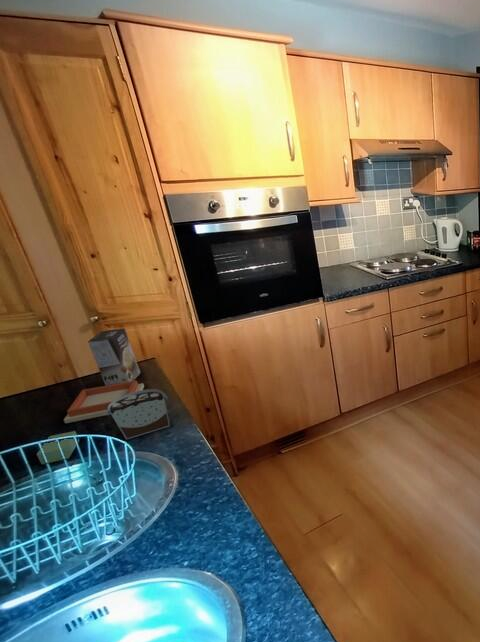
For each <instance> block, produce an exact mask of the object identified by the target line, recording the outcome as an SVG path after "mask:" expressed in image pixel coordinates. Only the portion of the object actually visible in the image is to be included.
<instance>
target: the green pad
mask: <svg viewBox="0 0 480 642" xmlns="http://www.w3.org/2000/svg"><path fill="white" fill-rule="evenodd" d="M70 435H77V436H78V433H77V432H76V431H75V430H73V431H69V432H68V431H67V432H63V433H59V434H54V435H49V436H48V438H47V439H50V438H57V437H63V436H70ZM59 443H60V446H61V448H62V451H63V453H64V455H65V458H66V459H65V460H68V459H70V457H71V456H72V455H73V453H74V451H75V449H76V448H77V446H76V444H75V439H64V440H61V441H60V442H59ZM78 443H80V438H79V439H78ZM57 444H58V442H57V441H54V442H50V443H45V442H44V443H43V444H42V446H41V448H42V447H43V450H44V454H45V456H46V458H47V461H48V463H47V464H50V463H54V462H61V461H64V460H63V458H62V457H61V454H60V451H59V448H58V445H57ZM36 456H37V458H38V460H39V462H40V464H41V465H46V464H45V462H44V460H43V457H42V454H41V451H40V449H39V450H38V451H37V453H36Z"/></svg>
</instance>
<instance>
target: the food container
mask: <svg viewBox="0 0 480 642" xmlns="http://www.w3.org/2000/svg"><path fill="white" fill-rule="evenodd" d="M165 398H166V399H165ZM168 399H169V398H168V397H167V395H166V394H165V393H164V392H163V391H162V390H160V389H156V388H153V389H152V388H149V389H143V390H141V391H136V392H132V393H129V394H126V395H124V396H121V397H119V398H117V399H116V400H114V401H113V402H111V403H110V404H109V406H108V409H107V413H108V415H107V416H111V417H112V418H113V420H114V421H115V424H116V425H117V427H118V428H119V430H120V432H121V433H122V435H123V436H124V438H125V440H130V439H133V438H136V437H139V436H142V435H146V434H149V433H153V432H156V431H159V430H163V429H165V428H168V427H171V422H170V419H169V414H168V408H167V403H166V400H168ZM109 413H110V415H109Z"/></svg>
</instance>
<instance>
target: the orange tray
mask: <svg viewBox="0 0 480 642" xmlns="http://www.w3.org/2000/svg"><path fill="white" fill-rule="evenodd" d="M144 388H145V385H144V383H138V380H136V379H135V380H134V381H130V382H124V383H118V384H113V385H107V386H106V385H102V386H96V387H91V388H85V389H82V390H80V392H79V394H78V395H77V397H76V398H75V399H74V400H73V402H72V403H71V405H70V406H69V408H68V409H67V410H66V413H67V414H66V416H65V417H64V418H63V423H64V424H70V423H75V422H80V421H85V420H88V419H89V420H90V419H94V418H99V417H105V416H108V413H107V409H108V406H109V404H110V403H111V402H113V401H114V400H116V399H117V398H119V397H121V396H124V395H126V394H129V393H132V392H136V391H141V390H144ZM109 416H111V414H110V413H109Z"/></svg>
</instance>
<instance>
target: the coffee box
mask: <svg viewBox="0 0 480 642" xmlns="http://www.w3.org/2000/svg"><path fill="white" fill-rule="evenodd" d="M87 343H88V345H89V348H90V350H91V353H92V355H93V358H94V360H95V363H96V365H97V368H98V370H99V373H100V376H101V378H102V380H103V383H104V386H107V385H113V384H118V383H124V382H130V381H135V380H136V379H137V378H138V377H139V376H140V374H141V370H140V367H139V364H138V363H137V359H136V356H135V354H134V350H133V348H132V345H131V343H130V340H129V337H128V334H127V332H126V329H125V328H116V329H109V330H102V331H100V332H98V333H97V334H96V335H94V336H93V337H92V338H91V339H89V340H88V341H87Z"/></svg>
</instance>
